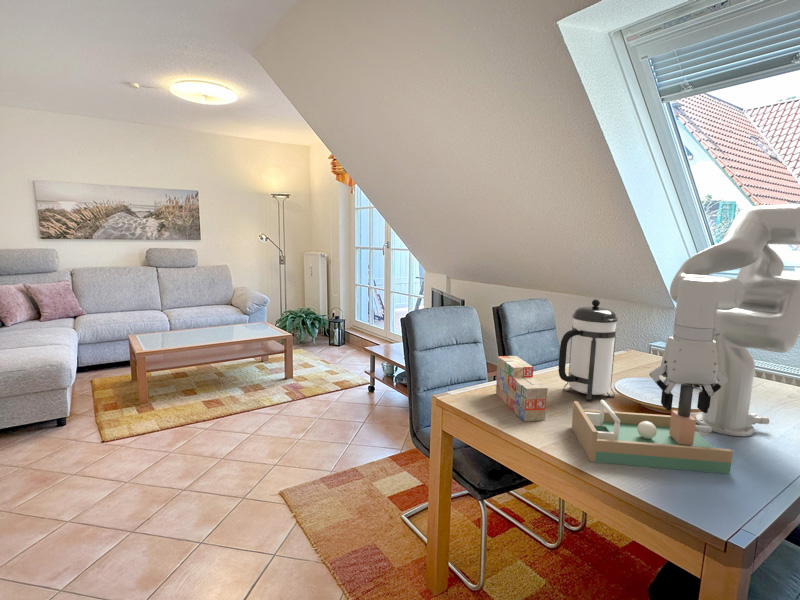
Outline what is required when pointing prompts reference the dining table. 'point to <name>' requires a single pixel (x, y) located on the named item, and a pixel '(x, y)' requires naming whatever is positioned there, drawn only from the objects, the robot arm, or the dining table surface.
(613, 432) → the pitch
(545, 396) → the stack of blocks
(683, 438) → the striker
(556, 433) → the dining table surface
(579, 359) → the coffee press
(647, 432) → the ball
